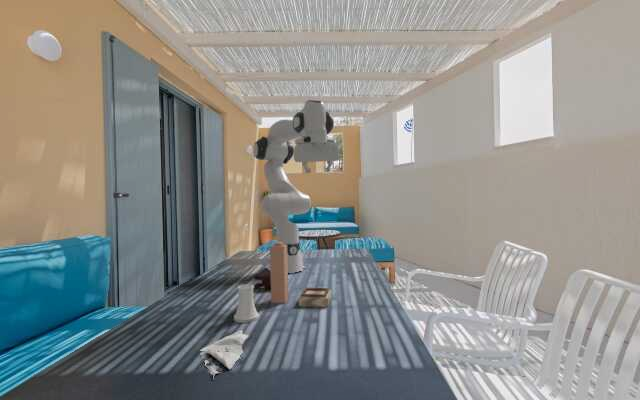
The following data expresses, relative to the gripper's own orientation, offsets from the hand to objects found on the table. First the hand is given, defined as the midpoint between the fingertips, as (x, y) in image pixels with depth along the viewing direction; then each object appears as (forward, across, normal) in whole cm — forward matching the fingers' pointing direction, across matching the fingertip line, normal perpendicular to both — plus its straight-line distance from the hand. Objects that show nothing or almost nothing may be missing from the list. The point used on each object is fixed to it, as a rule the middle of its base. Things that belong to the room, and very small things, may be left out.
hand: (318, 172), depth 144 cm
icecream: (+46, +23, -3) cm, 52 cm away
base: (+46, +15, +22) cm, 53 cm away
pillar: (+45, +26, +14) cm, 54 cm away
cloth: (+44, +52, +45) cm, 81 cm away
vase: (+44, +41, +25) cm, 65 cm away
